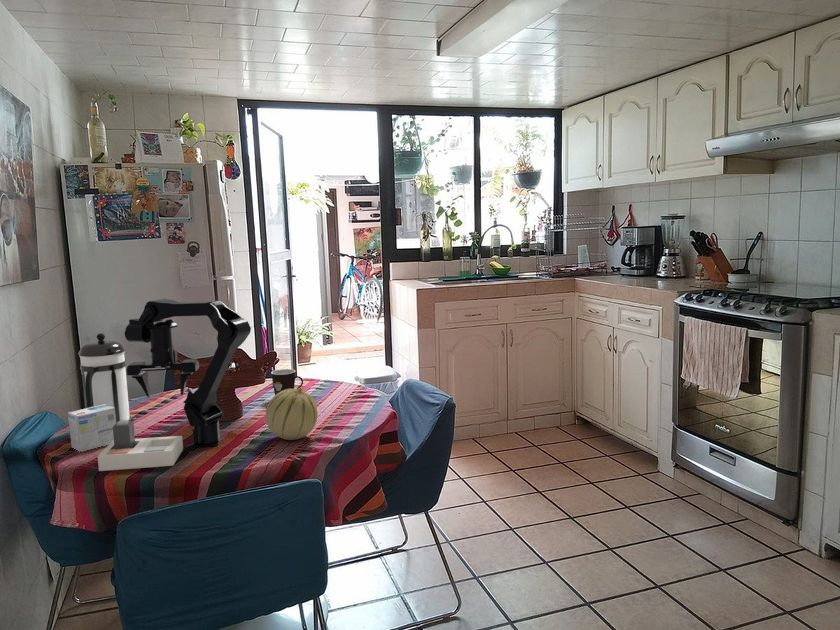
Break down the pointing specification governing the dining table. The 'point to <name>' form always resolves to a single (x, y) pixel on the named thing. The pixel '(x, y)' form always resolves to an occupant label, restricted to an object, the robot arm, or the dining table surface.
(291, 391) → the cantaloupe
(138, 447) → the socket block
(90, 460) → the dining table surface
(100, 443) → the light bulb box
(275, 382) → the coffee mug
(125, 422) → the grey rectangular block
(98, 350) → the coffee press
